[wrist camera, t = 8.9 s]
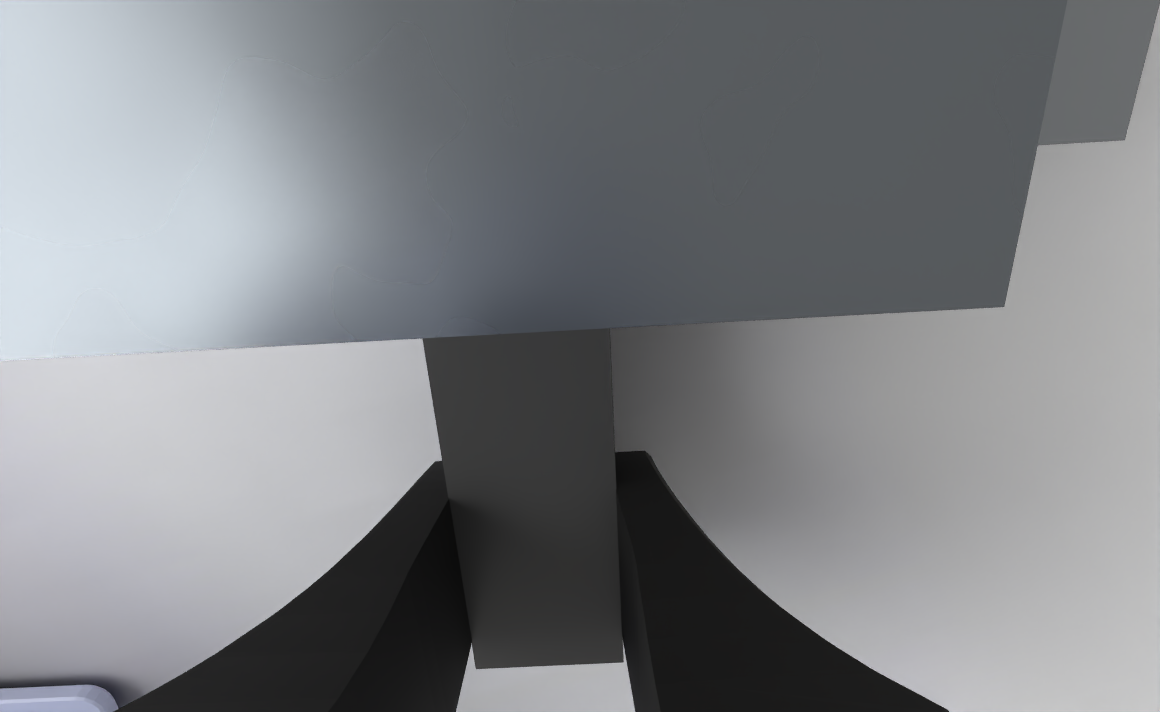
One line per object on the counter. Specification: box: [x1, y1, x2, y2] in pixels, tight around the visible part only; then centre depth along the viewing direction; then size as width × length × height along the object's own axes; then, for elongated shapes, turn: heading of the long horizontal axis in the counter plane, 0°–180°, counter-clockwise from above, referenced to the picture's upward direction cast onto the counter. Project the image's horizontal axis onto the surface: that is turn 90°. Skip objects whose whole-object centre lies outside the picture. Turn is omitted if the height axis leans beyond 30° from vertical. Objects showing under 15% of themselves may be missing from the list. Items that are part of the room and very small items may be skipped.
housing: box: [0, 0, 1160, 361], centre depth 8 cm, size 5×11×6 cm, turn 93°
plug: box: [423, 328, 624, 669], centre depth 9 cm, size 17×4×4 cm, turn 3°
